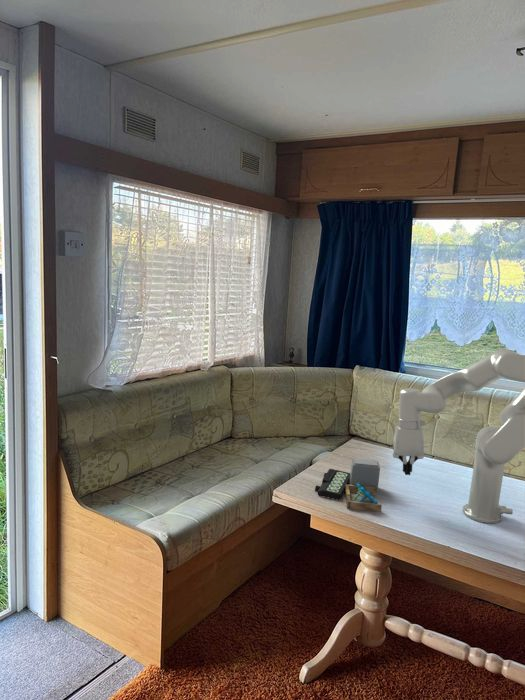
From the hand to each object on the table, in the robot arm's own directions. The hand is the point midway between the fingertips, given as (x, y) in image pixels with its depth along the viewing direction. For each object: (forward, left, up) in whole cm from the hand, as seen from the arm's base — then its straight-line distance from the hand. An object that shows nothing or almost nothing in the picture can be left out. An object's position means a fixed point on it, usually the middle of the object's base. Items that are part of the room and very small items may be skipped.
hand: (407, 473), depth 184 cm
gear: (+14, +4, -12) cm, 18 cm away
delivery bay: (+15, +2, -11) cm, 19 cm away
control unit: (+14, -9, -11) cm, 20 cm away
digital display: (+25, -8, -12) cm, 29 cm away
